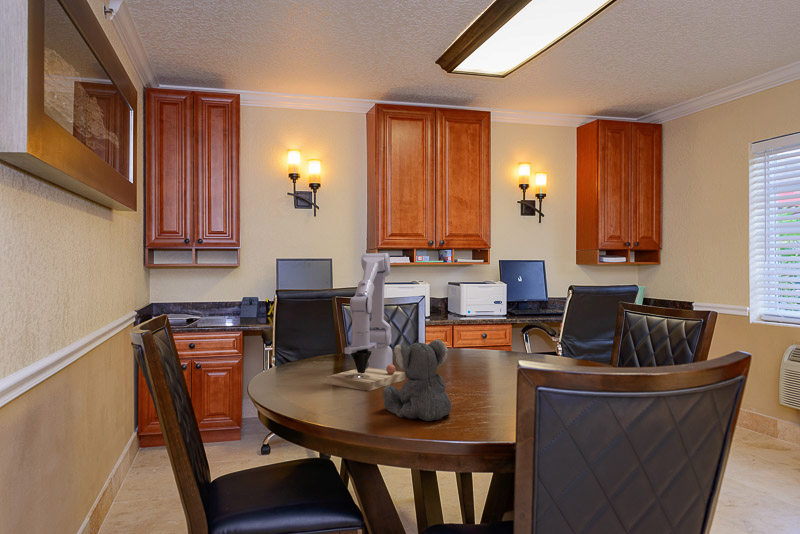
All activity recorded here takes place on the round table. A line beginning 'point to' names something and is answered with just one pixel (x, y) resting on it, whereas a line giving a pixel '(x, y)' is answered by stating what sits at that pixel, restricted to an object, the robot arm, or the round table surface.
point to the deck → (366, 379)
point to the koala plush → (419, 383)
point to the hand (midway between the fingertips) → (361, 372)
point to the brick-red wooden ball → (390, 369)
